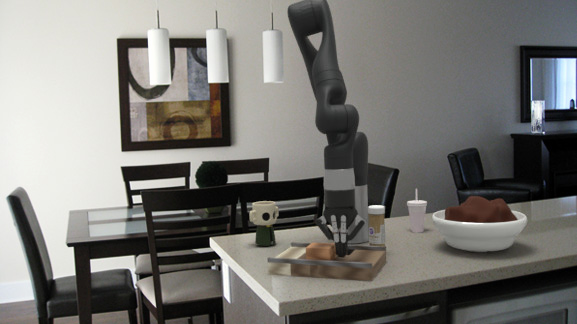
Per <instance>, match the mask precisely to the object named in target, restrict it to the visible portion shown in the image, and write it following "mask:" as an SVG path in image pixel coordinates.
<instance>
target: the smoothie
mask: <svg viewBox="0 0 577 324" xmlns="http://www.w3.org/2000/svg"><path fill="white" fill-rule="evenodd" d="M427 205H428V202H427V200H420V199H419V200H418V188H415V199H413V200H408V201H406V206H407V209H408V214H409V222H410V228H411V232H412V233H417V234H418V233H419V234H420V233H423V232H424V230H425V222H426V221H425V219H426V209H427Z"/></svg>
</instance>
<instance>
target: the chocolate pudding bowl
mask: <svg viewBox="0 0 577 324" xmlns="http://www.w3.org/2000/svg"><path fill="white" fill-rule="evenodd" d="M431 221H432V223H433V225H434V227H435V228H436V230H438V232H439V233H441V235H442V237H443V240H444V242H445V243H446V244H447V245H448V246H450V247H452V248H454V249H458V250H462V251H467V250H468V252H472V251H475V252H474V253H488V252H487V251H490V252H498V251H504V250H506V249H509V248H511V247H513V244H514V243H515V241H516V238H517V237H518V235H519V234H520V233H521V232H522V231H523V230H524V229H525V227H526V225H527V223H528V216H526V214H524V213H522V212H519V211H516V210H511V208H510V206H509V205H508V204H507V203H506V201H504V199H503V198H495V199H492V200H489V199H487V198H485V197H483V196H478V195H477V196H475V195H471V196H468V198H466V200H465V202H462V203H460V204H459V205H457V206H449V207H447V208H445V209H441V210H438V211H436V212H433V214H432V216H431Z"/></svg>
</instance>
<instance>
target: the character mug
mask: <svg viewBox="0 0 577 324" xmlns="http://www.w3.org/2000/svg"><path fill="white" fill-rule="evenodd" d="M251 206H252V210H250V211H249V222H251V223H253V224H254V225H255V226H256V225H257V226H256V228H255V229H256V231H255V241H254V242H255V245H259V246H261V247H263V246H264V247H265V246H266V247H268V246H271V244H272V245H275V244H276V234H275V228H274V226H273V225H274V224H275V223H276V222H277V219H278V217H279V207H278V206H277V205H276V202H275V201H271V200H269V201H267V200H263V201H260V200H259V201H256V202H252V203H251Z"/></svg>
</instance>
